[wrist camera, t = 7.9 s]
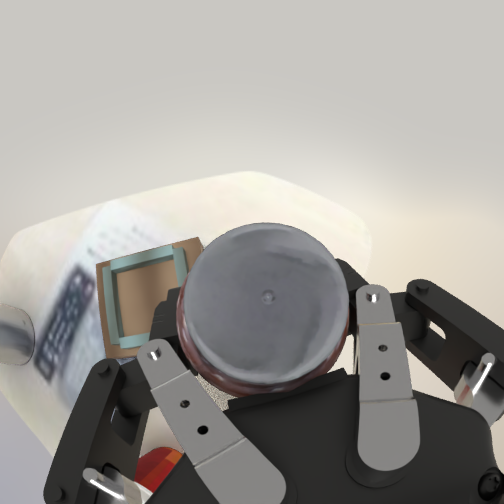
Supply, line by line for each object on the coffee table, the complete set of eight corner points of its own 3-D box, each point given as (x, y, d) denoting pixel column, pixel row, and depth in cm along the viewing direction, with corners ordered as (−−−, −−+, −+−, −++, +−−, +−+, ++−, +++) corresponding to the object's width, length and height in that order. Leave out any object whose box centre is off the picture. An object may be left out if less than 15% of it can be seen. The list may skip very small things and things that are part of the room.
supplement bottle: (211, 286, 18) (155, 189, 7) (302, 283, 18) (365, 184, 7) (212, 378, 16) (143, 417, 5) (308, 375, 16) (395, 404, 5)
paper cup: (135, 472, 24) (82, 515, 11) (148, 429, 27) (90, 464, 14) (190, 496, 23) (159, 556, 10) (207, 454, 26) (178, 510, 13)
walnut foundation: (118, 359, 30) (100, 358, 26) (106, 270, 34) (90, 260, 30) (223, 339, 31) (218, 337, 27) (202, 246, 35) (195, 231, 31)
